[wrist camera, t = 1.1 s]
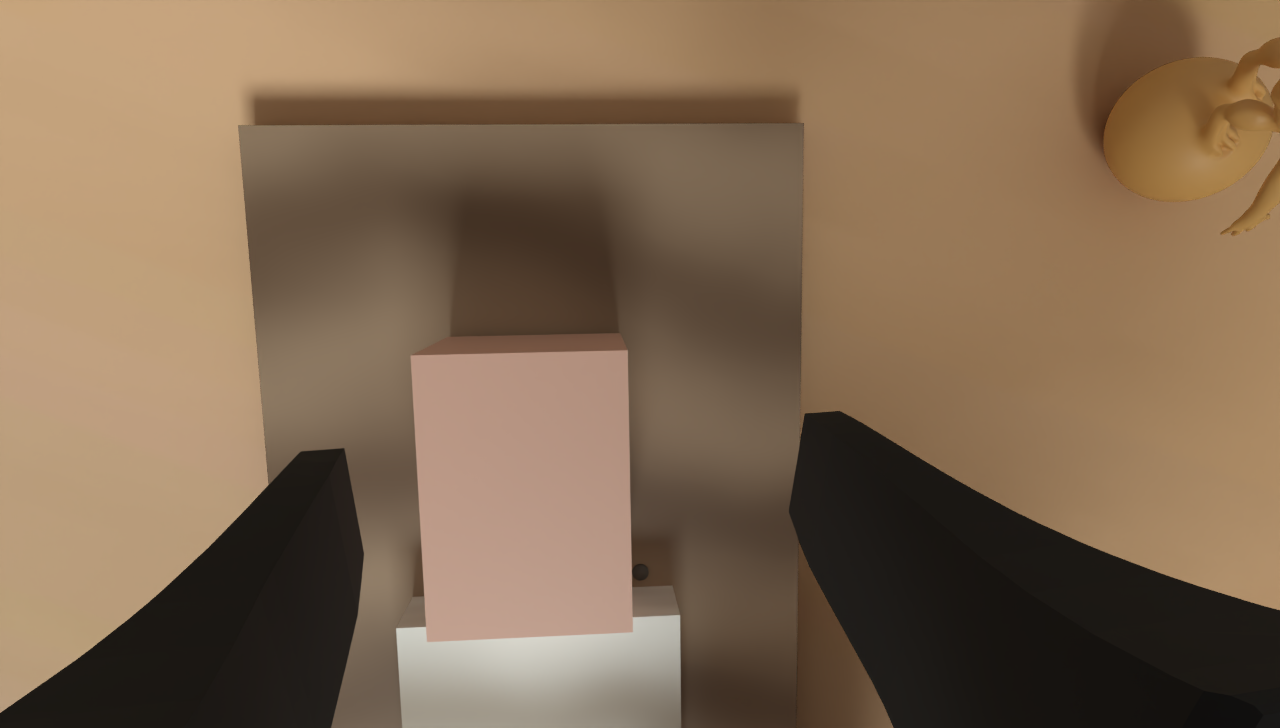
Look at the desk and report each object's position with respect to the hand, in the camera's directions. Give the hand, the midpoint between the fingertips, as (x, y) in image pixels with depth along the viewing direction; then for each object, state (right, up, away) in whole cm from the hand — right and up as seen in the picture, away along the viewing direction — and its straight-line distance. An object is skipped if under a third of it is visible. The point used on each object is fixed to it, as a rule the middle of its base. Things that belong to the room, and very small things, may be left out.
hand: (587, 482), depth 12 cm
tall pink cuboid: (-2, -1, +10) cm, 11 cm away
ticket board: (-2, -2, +12) cm, 12 cm away
